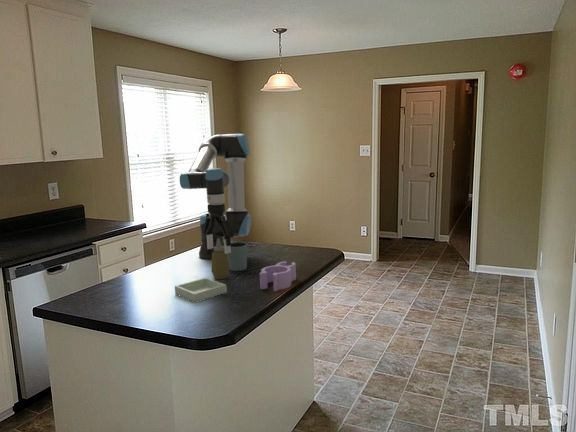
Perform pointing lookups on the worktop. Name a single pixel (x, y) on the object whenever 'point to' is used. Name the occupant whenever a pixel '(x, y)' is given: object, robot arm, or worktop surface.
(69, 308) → the worktop surface
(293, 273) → the clip
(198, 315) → the worktop surface
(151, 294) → the worktop surface
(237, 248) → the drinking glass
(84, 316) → the worktop surface
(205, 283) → the tray
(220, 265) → the squeeze bottle
